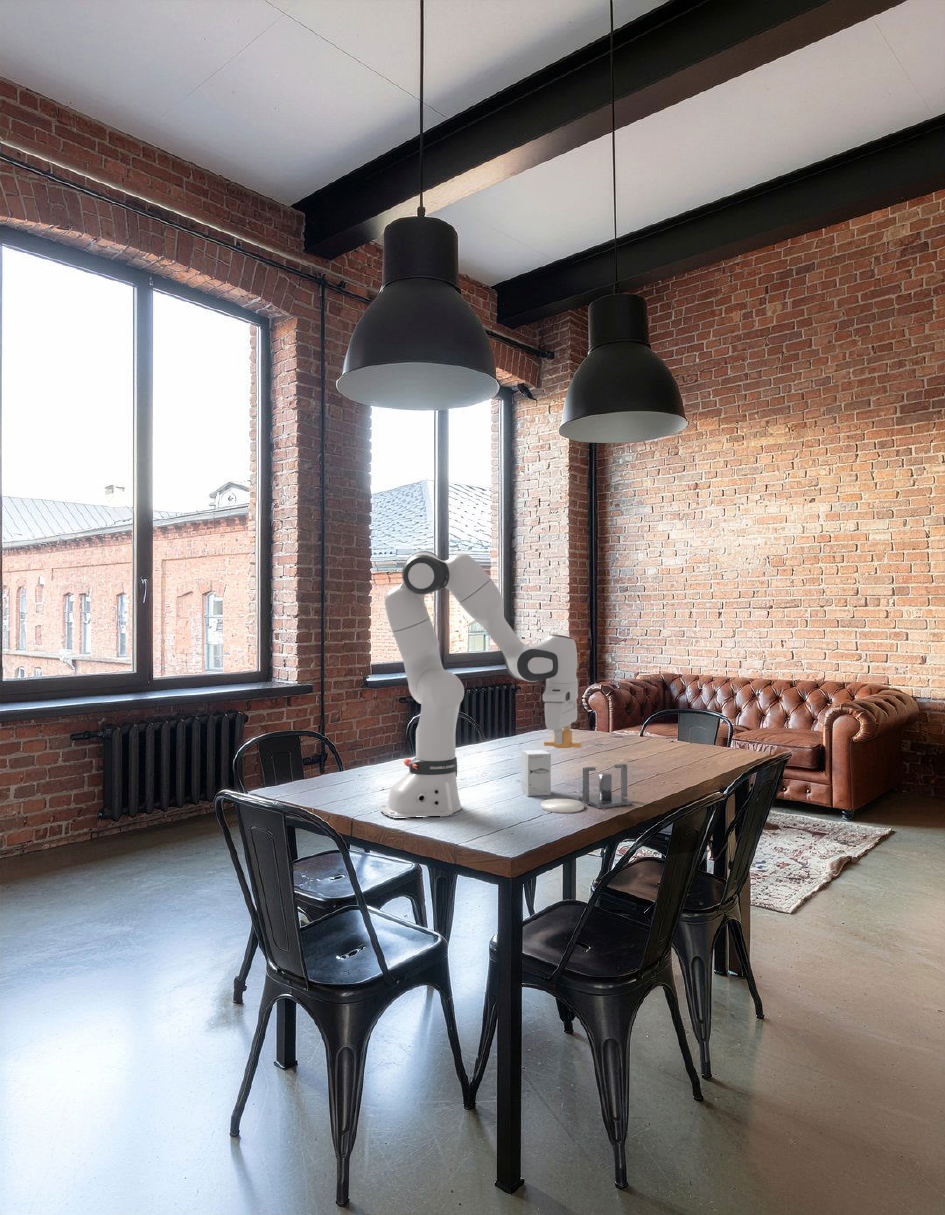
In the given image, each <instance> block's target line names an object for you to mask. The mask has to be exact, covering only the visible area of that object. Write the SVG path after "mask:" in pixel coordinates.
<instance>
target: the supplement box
mask: <svg viewBox="0 0 945 1215" xmlns="http://www.w3.org/2000/svg"><path fill="white" fill-rule="evenodd" d="M551 759H552V754H551V753H550V752H548V751H547V750H545V749H530V750H529V749H528V750H521V792H522V793H523V794H524V795H526V797H533V796H534V797H535V796H537V797H538V796H551V793H552V791H551V790H552V789H551V788H552V785H551V783H552V782H551V781H552V780H551V779H552V778H551V776H552V775H551V772H552V771H551V770H552V768H551V767H552V765H551V762H552V761H551Z"/></svg>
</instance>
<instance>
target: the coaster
mask: <svg viewBox="0 0 945 1215" xmlns="http://www.w3.org/2000/svg"><path fill="white" fill-rule="evenodd" d="M540 808H541V809H542V810H543V811H547V812H550V813H559V814H560V813H561V814H564V813H565V814H569V813H571V814H572V813H578V812H582V811H583V810H584V809H585V802H582V801H580V800H579V799H578V800H577V799H573V798H550V799H545V800H542V801H541V803H540ZM581 810H582V811H581Z"/></svg>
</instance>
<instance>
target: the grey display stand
mask: <svg viewBox="0 0 945 1215" xmlns="http://www.w3.org/2000/svg"><path fill="white" fill-rule="evenodd" d="M596 768H597V767H596V766H587V767H585V766H584V767H582V795H581V796H578V801H581V802H582V801H584V802H583V803H584V804H587V803H588V804H587V805H589V804H590V806H592V807H594V808H597V809H598V808H602V809H609V807H610V808H616V807H615V806H619V807H622V806H621V805H627V806H630V805H629V804H634V803H633V801H632V800H630V799H627V798H628V764H626V763H619V764H618V763H617V764H614V768H615V769H620V796H619V795H618V794H615V793H612V792H613V791H612V790H613V789H612V787H613V786H612V781H613V780H612V779H613V778H612V777H613V776H612V775H613V774H611V773H608V772H607V773H604V772H602V773H599V774H598V794H590V772H593V771H597V769H596Z"/></svg>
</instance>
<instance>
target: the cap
mask: <svg viewBox="0 0 945 1215" xmlns="http://www.w3.org/2000/svg"><path fill="white" fill-rule="evenodd" d="M552 731H553V737H552V738H553V741H547V740H546V741H544V742H543V746H544V747H554V748H555V749H556V748H557V749H571V748H579V749H580V748H582V745H583V744H582V743H581V742H579V743H578V742H573V730H572V729H570V730H565V729H563V728H562V737H563V743H562V744H556V740H555V735H554V730H552Z"/></svg>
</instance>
